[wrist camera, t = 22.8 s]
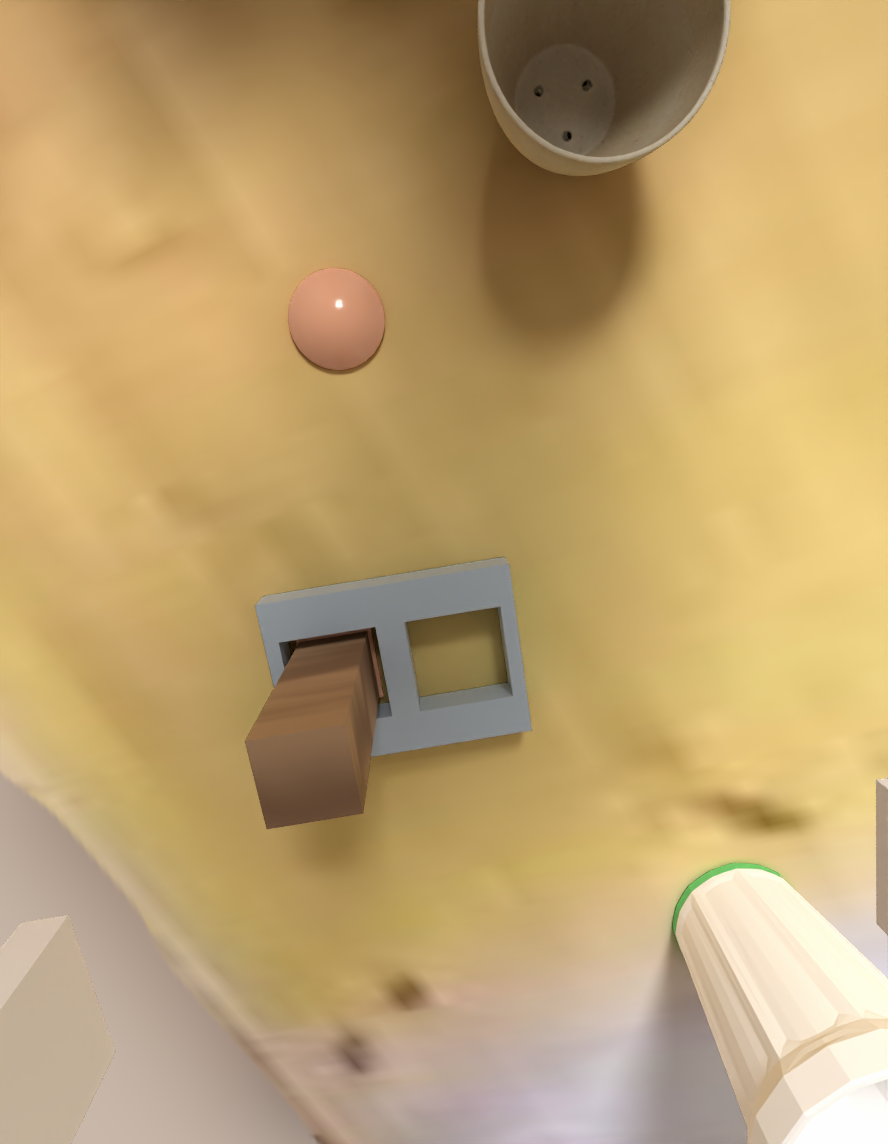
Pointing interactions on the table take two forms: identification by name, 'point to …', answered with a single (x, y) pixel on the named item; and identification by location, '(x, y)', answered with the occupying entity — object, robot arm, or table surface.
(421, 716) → the grey window frame
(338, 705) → the peg
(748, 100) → the table surface
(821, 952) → the cup
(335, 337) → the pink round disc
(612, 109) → the flower pot
